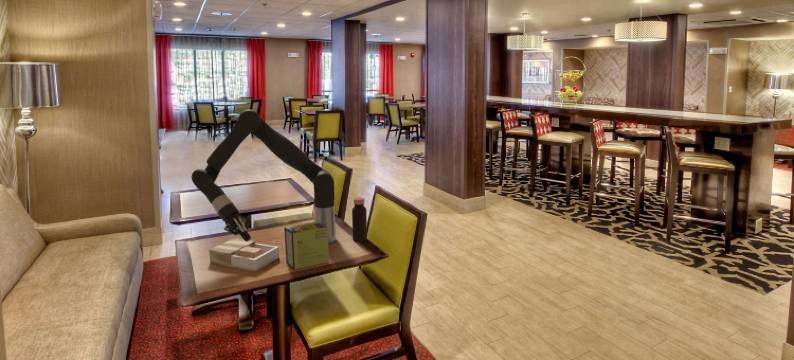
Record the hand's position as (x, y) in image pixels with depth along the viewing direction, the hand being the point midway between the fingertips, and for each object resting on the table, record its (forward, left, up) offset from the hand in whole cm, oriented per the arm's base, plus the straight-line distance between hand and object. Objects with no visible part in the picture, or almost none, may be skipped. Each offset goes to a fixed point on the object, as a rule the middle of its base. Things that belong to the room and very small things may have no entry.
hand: (248, 240), depth 209 cm
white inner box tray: (-1, +2, -10) cm, 10 cm away
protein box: (-10, +22, -10) cm, 26 cm away
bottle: (-43, +29, -10) cm, 53 cm away
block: (0, -4, -7) cm, 8 cm away
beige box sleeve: (-1, -10, -10) cm, 14 cm away
